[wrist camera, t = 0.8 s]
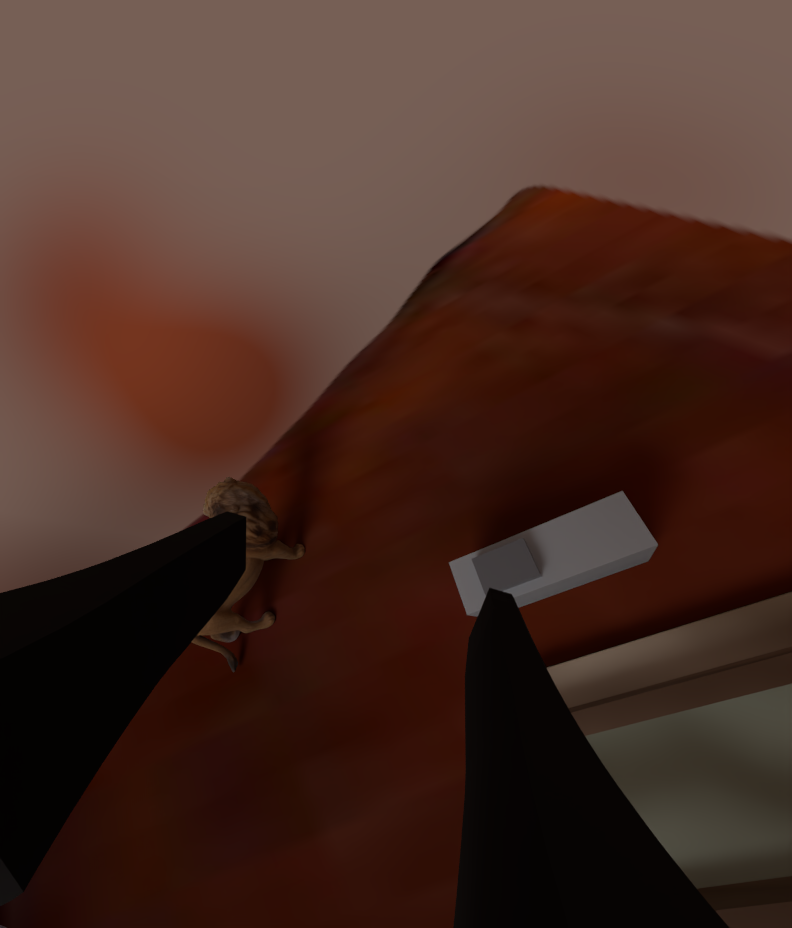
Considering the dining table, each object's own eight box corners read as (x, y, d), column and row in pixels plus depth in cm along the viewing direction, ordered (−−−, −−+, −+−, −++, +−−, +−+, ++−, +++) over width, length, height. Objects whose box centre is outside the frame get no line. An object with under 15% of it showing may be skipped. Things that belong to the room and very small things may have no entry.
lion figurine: (280, 500, 37) (201, 467, 30) (321, 509, 34) (245, 475, 27) (220, 660, 33) (112, 667, 26) (261, 684, 30) (152, 701, 23)
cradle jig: (1165, 939, 12) (1309, 1017, 10) (602, 982, 17) (602, 1041, 14) (841, 576, 18) (878, 567, 16) (495, 683, 23) (482, 689, 21)
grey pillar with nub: (648, 561, 22) (660, 541, 17) (489, 618, 25) (462, 614, 20) (619, 515, 24) (623, 485, 19) (472, 573, 26) (444, 560, 22)
